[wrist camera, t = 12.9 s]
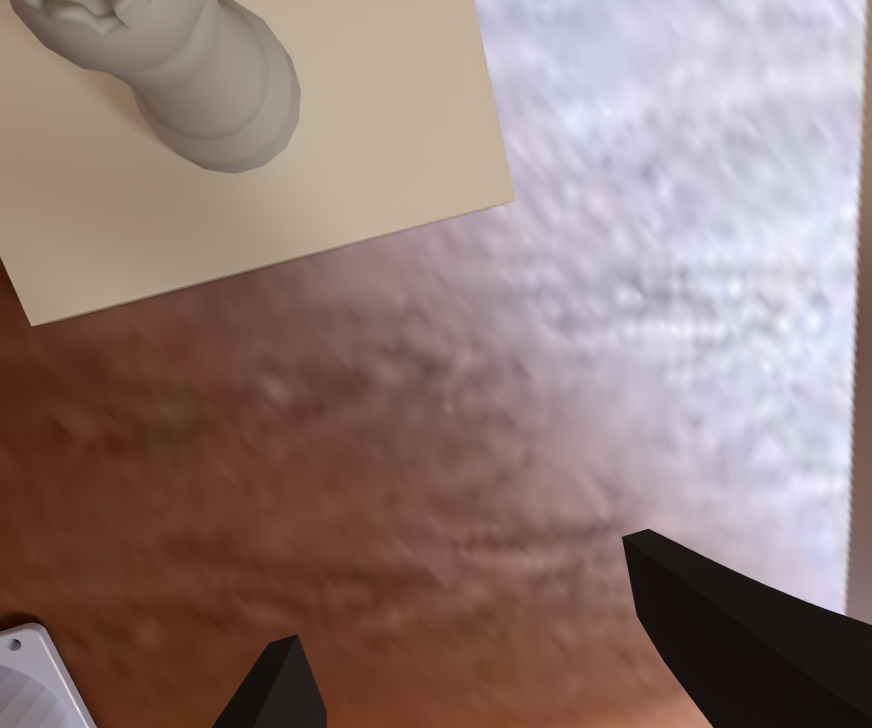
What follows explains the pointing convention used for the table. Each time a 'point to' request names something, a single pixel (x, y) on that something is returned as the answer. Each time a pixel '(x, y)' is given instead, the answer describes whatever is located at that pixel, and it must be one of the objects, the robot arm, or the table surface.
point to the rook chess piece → (184, 71)
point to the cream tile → (254, 189)
